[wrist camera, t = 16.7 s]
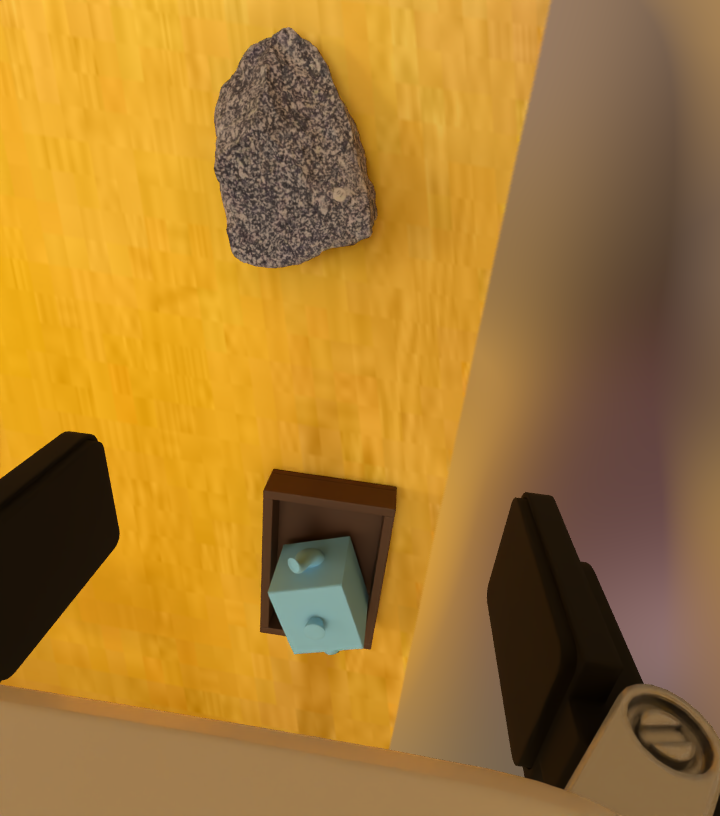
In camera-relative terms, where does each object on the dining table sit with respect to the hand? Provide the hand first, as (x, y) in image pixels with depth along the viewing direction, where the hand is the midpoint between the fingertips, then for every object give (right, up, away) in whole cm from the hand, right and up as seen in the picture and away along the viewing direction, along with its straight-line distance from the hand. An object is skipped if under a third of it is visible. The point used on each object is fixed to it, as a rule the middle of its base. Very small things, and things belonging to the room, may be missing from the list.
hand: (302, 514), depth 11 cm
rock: (-3, +18, +20) cm, 27 cm away
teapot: (-2, -11, +33) cm, 35 cm away
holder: (-2, -11, +33) cm, 35 cm away
